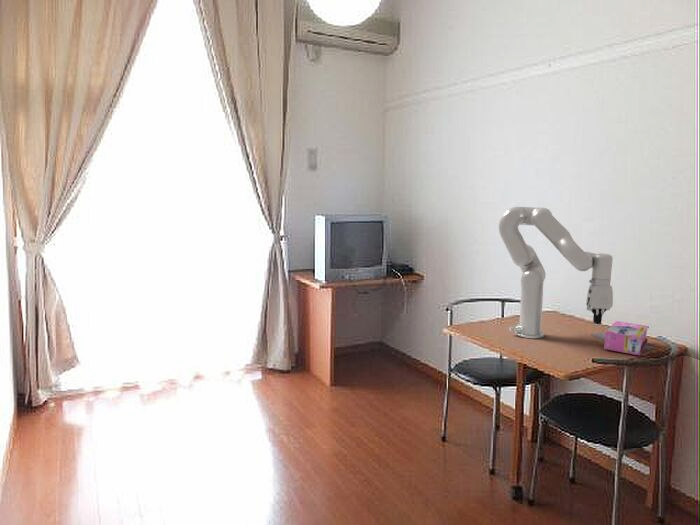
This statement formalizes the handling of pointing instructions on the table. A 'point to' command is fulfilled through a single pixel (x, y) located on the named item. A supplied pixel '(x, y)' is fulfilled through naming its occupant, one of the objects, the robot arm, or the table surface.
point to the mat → (602, 336)
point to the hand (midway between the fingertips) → (597, 323)
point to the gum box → (626, 337)
